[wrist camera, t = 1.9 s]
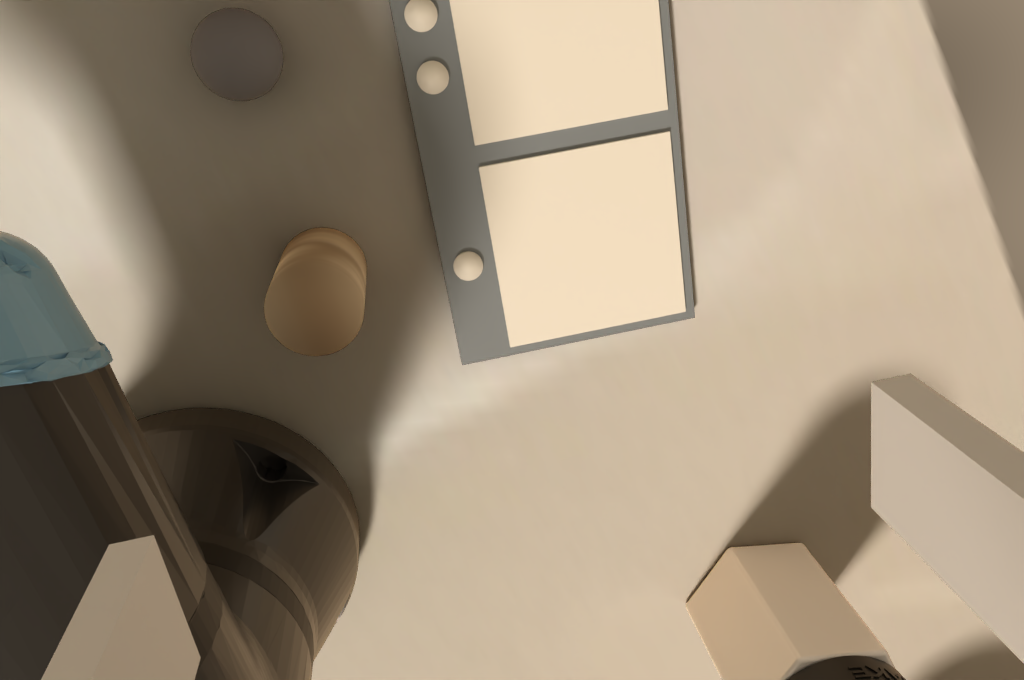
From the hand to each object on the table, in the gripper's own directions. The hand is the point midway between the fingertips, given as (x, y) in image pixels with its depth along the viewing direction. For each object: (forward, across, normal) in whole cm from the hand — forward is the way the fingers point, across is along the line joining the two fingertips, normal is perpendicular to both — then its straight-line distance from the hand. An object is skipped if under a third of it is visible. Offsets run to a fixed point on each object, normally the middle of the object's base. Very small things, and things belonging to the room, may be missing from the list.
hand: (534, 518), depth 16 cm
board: (+27, +6, +7) cm, 28 cm away
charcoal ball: (+27, -7, +8) cm, 29 cm away
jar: (+27, +14, -27) cm, 41 cm away
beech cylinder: (+27, -6, -2) cm, 27 cm away
